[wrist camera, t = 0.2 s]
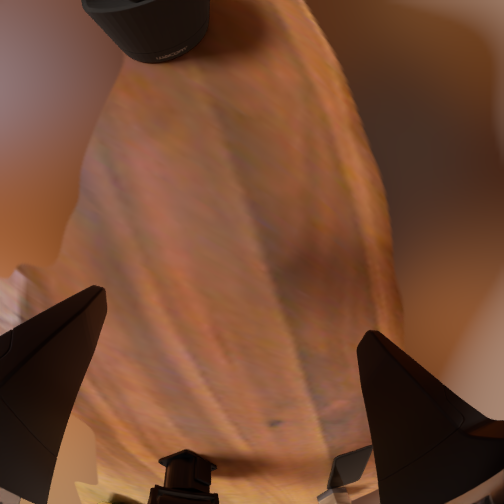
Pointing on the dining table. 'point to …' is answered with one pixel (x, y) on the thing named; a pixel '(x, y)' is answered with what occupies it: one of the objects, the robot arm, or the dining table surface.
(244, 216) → the dining table surface
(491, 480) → the robot arm
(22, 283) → the dining table surface
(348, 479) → the smartphone
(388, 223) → the dining table surface
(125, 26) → the pen holder
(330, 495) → the birch block
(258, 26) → the dining table surface
